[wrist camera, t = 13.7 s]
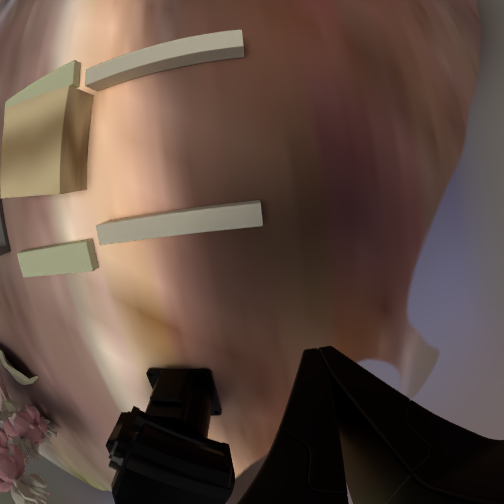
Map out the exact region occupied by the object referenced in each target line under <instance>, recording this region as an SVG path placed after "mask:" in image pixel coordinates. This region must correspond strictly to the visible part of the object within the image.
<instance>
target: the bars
mask: <svg viewBox="0 0 504 504" xmlns="http://www.w3.org/2000/svg"><path fill="white" fill-rule="evenodd" d="M79 77H80V63H79V62H78V61H76V60H74V61H72V62H70V63H68V64H66V65H64V66H62V67H60V68H58V69H56V70H54V71H53V72H51V73H49V74H47V75H46V76H44V77H42V78H40V79H39V80H37V81H36V82H34V83H32V84H31V85H29V86H28V87H26V88H25V89H23V90H22V91H20V92H19V93H17V94H16V95H14V96H13V97H11V98H10V99H9V100H7V101H6V103H5V116H6V110H7V108H8V107H10V106H13V105H15V104H18V103H20V102H22V101H25V100H28V99H30V98H33V97H35V96H38V95H41V94H44V93H47V92H50V91H53V90H56V89H59V88H63V87H66V86H71V87H74V88H77V87H79ZM5 116H4V123H5ZM17 255H18V259H19V263H20V267H21V271H22V274H23V277H33V276H44V275H56V274H67V273H78V272H89V271H94V270H95V269H97V268H98V262H97V258H96V254H95V250H94V245H93V240H92V239H87V240H81V241H75V242H69V243H63V244H57V245H52V246H46V247H41V248H35V249H30V250H24V251H21V252H19V253H17Z"/></svg>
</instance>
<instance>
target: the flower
mask: <svg viewBox="0 0 504 504" xmlns="http://www.w3.org/2000/svg"><path fill="white" fill-rule="evenodd" d="M0 361H1V363H2V365H3V366H4V367H5V368H6V369H7V370H8V371H9V372H10V374H11V375H12V376H13V377H14V379H15V380H16V381H17V382H19V383H20V384H22V385H27V384H32V383H33V382H34V381H35V380H36V379H37V378H38V376H35V377H32V378H27V377H26V376H24V375H23V374H22V373H20V372H19V371H17V370H15V369H14V368H13V366H12V365H11V364H10V363H9V362H8V361H7V360H6V358H5V355H4V353H3V351H2V350H0ZM0 386H1V388H2V390H3V393H4V395H5V397H6V399H7V401H6V400H5V399H4V397H3V395H2V394H1V396H2V408H1V409H2V412H1V411H0V420H1V421H4V422H3V429H4V430H5V431H6V432H7V434H8V437H9V439H10V441H11V444H7V442H8V438H7V435H6V433H5V431H4V430H3V429H2V428H0V493H1V492H7V491H9V490H10V489H11V495H12V497H13V499H14V501H15V503H16V504H33V503H34V504H36V503H38V501H37V499H36V498H35V497H37V498H38V499H39V500H40V501H41V502H43V503H45V504H47V503H46V502H45V501H44V500H42V498H41V496H42V497H43V498H44V499H47V498H45V497H44V496H43V494H42V492H44V490H42V489H41V488H40V487H43V488H44V487H47V484H46V482H45V481H44V480H43V479H42V478H41V477H40V476H39V475H38V474H30V475H23V473H24V471H25V470H24V468H25V463H24V458H26V462H27V464H28V460H27V456H28V455H30V456H31V457H32V458H33V460H34V461H35V462H36V461H37V460H38V455H39V450H38V446H39V445H40V444H41V443H43V442H44V443H45V444H46V445H50V444H52V443H51V442H50V440H51V439H50V438H49V437H48V436H50V435H54V436H56V435H57V432H55V431H52V430H51V428H49V427H48V424H49V423H51V422H50V421H49V420H47V419H45V418H44V416H43V417H40V412H39V411H38V409H37V408H36V407H35V406H31V405H26V406H25V408H26V410H27V411H28V413H29V414H27V413H26V412H24V411H23V410H21V411H18V409H17V404H16V402H14V401H13V400H11V399H10V398H9V396H8V393H7V390H6V387H5V384H4V381H3V378H2V375H1V371H0ZM17 411H18V412H17ZM14 412H15V413H16V417H15V419H14V427H15V428H14V427H13V425H12V424H11V423H10V421H9V419H8V417H12V414H13V413H14ZM44 433H45V434H47V435H48V436H46V435H45V434H44ZM50 437H51V436H50ZM49 439H50V440H49ZM26 449H27V451H28V455H27V451H26ZM10 450H11V451H12V452H11V451H10ZM22 451H23V452H22ZM23 453H24V456H23ZM7 455H8V456H7ZM28 459H29V458H28ZM44 493H45V494H47V495H49V494H50V493H48V492H44ZM31 501H32V502H33V503H32V502H31ZM35 502H36V503H35Z"/></svg>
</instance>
